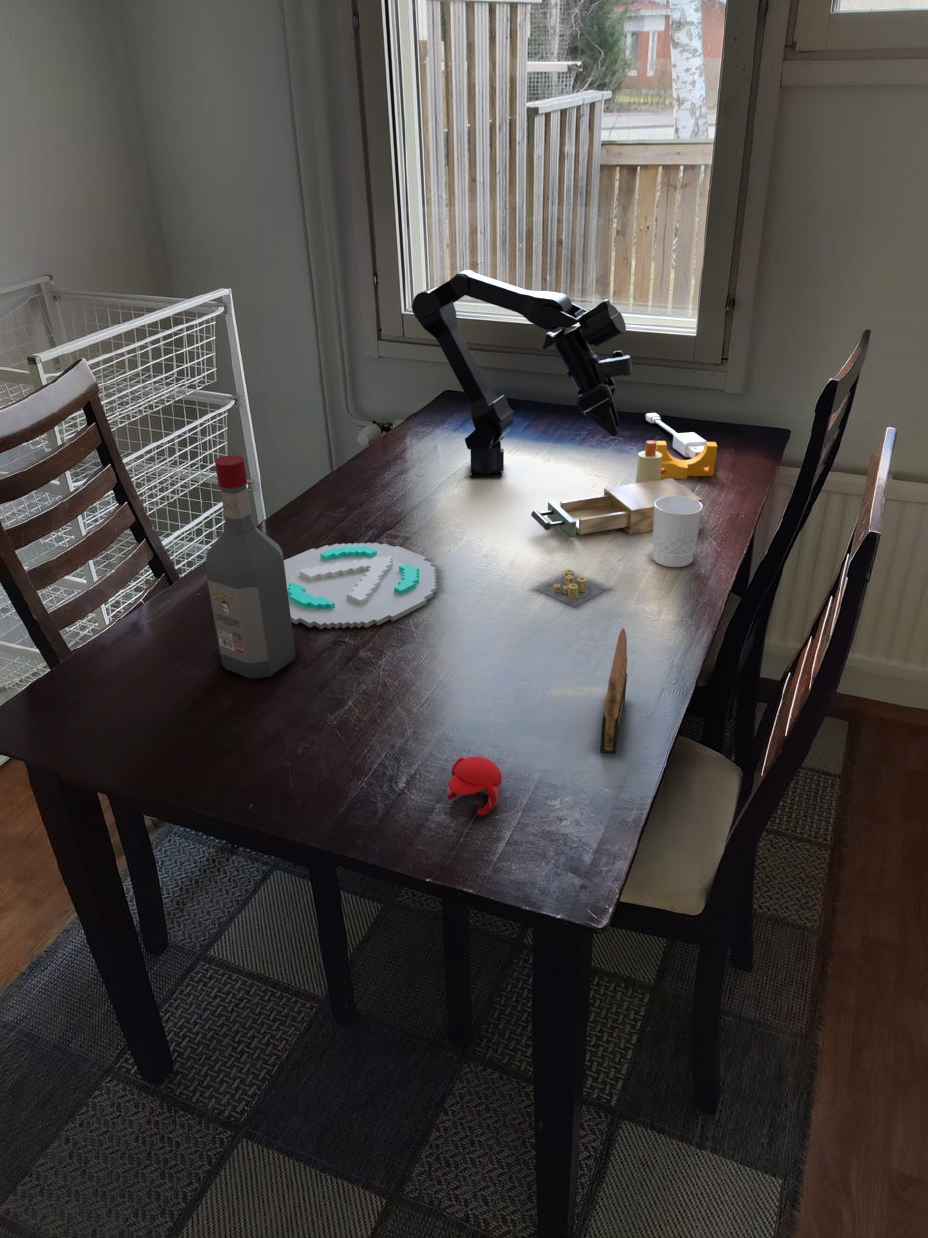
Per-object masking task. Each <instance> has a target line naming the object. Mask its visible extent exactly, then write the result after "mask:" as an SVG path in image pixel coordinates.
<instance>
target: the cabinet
mask: <svg viewBox="0 0 928 1238" xmlns="http://www.w3.org/2000/svg"><path fill="white" fill-rule="evenodd" d="M607 494H609V495H610V496H611V497H612V498H614V499H615V500H616V501H617V502H619V503H620V504H621V505H622V506H624V507H625V508H626V509H627V510H628V511H630V523H629V527H623V528H622V529H623V530H624V531H626V532H627V533H628V534H629V535H633V534H640V533H645V532H653V518H654V502H655V501H656V500H657V499H659V498H661V497H665V496H685V497H690V498H693V499H695V500H697V501H699V502H700V503H701V504H702V503H703V498H701V497H699V496H698V495H697V494H695V493H693V492H692V491H691V490H689V489H688V488H686V487H685V486H683V485H682V484H681V483H679V482H678V481H676V480H675V479H674V478H660V480H655V481H648V482H641V483H636V482H635V483H629V484H622V485H616V486H615V485H614V486H607V487H604V488H603V495H607Z"/></svg>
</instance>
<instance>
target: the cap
mask: <svg viewBox="0 0 928 1238" xmlns="http://www.w3.org/2000/svg"><path fill="white" fill-rule="evenodd" d="M451 776H452V777H451V778H450V780H449V782H448V789H449V790H450V792H448V793H447V799H448V800H449V801H451V800H453V799H454V798H455V797H457V796H468V795H473V794H477V793H479V792H481V791H483V790H485V792H486V793H487V795H488V800H487V802H486V804H485V805H484V806H483V807H481V808H478V809H477V815H478V816H479V817H483V816H484V817H485V816H486V815H487V814H489V813H491V812H492V810H493V809H494V808H495V807H496V805H497V803H498V801H499V795H500V791H501V784H502V780H503V776H502V772H501V769H500V768H499V766H498V765H497V764H496V763H495V762H494V761H492V760H491V759H488V758H486V757H483V756H469V757H466V758H465V757H462V756H461V757H459V758H458V759H457V760H456V761H455V762H454V764H453V765H452V768H451Z"/></svg>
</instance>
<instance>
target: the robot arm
mask: <svg viewBox="0 0 928 1238" xmlns="http://www.w3.org/2000/svg"><path fill="white" fill-rule="evenodd" d="M465 296H466V297H468V298H473V299H474V300H478V301H481V302H485V303H488V304H490V305H492V306H496V307H499V308H502V309H505V310H508V311H512V312H515V313H517V314H519V315H520V316H522V317H523V318H525V319H526V320H527V321H528V322H529V323H531V324H532V325H535V326H536V327H537V328H540V329H542V330H544V331H547V333H545V335H544V341H543V344H542V349H543V350H547V349H548V348H550V347H552V346H554V349H555V350H556V352H557V354H558V355H559V358H560V359H561V362H562V363H563V365H564V367H565V369H566V374H567V376H568V378H571V380H572V382H573V384H574V386H575V387H576V390H577V391H576V393H577V395H578V398H577V401H576V405H577V407H578V410H579V412H580V413H583V415H584V416H586V417H587V418H589V419H590V420H591V421H593V422H594V423H595V424H596V425H598V426H599V427H600V428H601V429H603V430H604V431H605V432H606V433H608V434H609V435H610V436H611V437H613V438H614V437H616V436H618V435H619V431H618V427H620V424H621V423H620V420H619V416H618V414H617V409H616V406H615V402H614V394H615V392H616V385H615V384H616V381H615V380H614V378H615V377H621V376H624V377H628V376H631V375H633V367H632V358H631V355H629V354H626V355H625V354H624V352H623V351H622V350H617V351H616V350H615V351H613V353H612V356H611V358H609V357H608V358H606V359H600V357H599V355H598V354H595V353H594V352H593V350H592V348H591V346H594V347H595V348H600V347H602V346H603V345H605V344H607V343H608V342H611V341H613V340H614V339H615V338H618V337H620V336H621V335H623V334H625V333H626V331H627V326H626V322H625V319H624V317H623V314H622V313H621V312H620V311H619V310H618V309H617V307H616V306H614V305H613V304H612V303H611V302H610V301H611V300H610V299H608V298H606V299H604V300H603V301H601V302H600V303H598V304H597V305H596V306H595V307H593V308H592V309H590V310H588V309H585V308H583V307H581V306H579V305H577V304H575V303H573V302H571V301H572V300H571V298H570V297H569V296H568V295H567V294H564V293H561V292H555V291H548V290H528V289H525V288H522V287H519V286H516V285H513V284H509V283H506V282H503V281H501V280H497V279H495V278H492V277H488V276H486V275H482V274H479V273H476V272H475V271H473V270H470V269H466V270H463V271H461V272H458V273H456V274H455V275H454V276H453V277H452V278H450V279H449V280H447V281H446V282H444V283H443V284H441V285H439V286H433V287H430V288H428V289H426V290H423V291H420V292H419V293H417V294H416V295H415V296H414V298H413V299H412V304H411V311H412V314H413V315H414V317H415V319H416V320H417V322H419V324H420V325H421V326H422V328H423V329H424V330H425V331H426V332H428V333H429V334H430V335H431V336H432V337H433V338H435V340H436V341H437V343H438V345H439V347H440V348H441V350H442V352H443V354H444V356H445V358H446V360H447V362H448V365H449V366H450V368H451V369H452V371H453V373H454V376H455V377H456V379H457V380H458V383H459V385H460V387H461V389H462V391H463V392H464V395H465V397H466V399H467V401H468V402H469V404H470V414H471V420H472V424H473V427H474V430H473V431H472V432H471V433H470V434H469V435H467V436H466V437H465V438H464V443H465V446H466V449H468V450H470V468H469V469H470V470H469V477H470V478H501V477H502V472H504V469H505V468H504V467H505V465H504V464H505V463H504V462H505V461H504V459H505V455H504V454H505V453H504V452H505V451H504V448H502V440H504V438H505V436H506V434H507V433H509V432H510V431H511V429H512V428H513V424H514V416H513V414H514V410H513V409H512V408H511V407H510V406H509V403H508V400H507V398H506V396H505V395H504V394H502V395H501V396H499V397H498V396H497V395H496V394H494V393H493V392H492V391H491V390H490V387H489V385H488V383H487V382H486V380H485V378H484V376H483V374H482V372H481V370H480V368H479V366H478V364H477V362H476V360H475V358H474V356H473V355H472V353H471V351H470V349H469V346H468V345H467V343H466V341H465V339H464V337H463V335H462V333H461V331H460V329H459V327H458V320H457V319H458V318H457V310H456V306H455V305H454V303H456V302H458V301H460V299H462V298H463V297H465ZM577 324H579V325H578V326H576V327H574V326H575V325H577ZM571 327H574V328H573V329H572V328H571ZM559 328H562V329H559ZM557 329H559V330H558V331H557V332H551V331H555V330H557ZM610 386H611V387H610Z"/></svg>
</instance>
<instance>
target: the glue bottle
mask: <svg viewBox="0 0 928 1238" xmlns="http://www.w3.org/2000/svg"><path fill="white" fill-rule="evenodd" d="M656 441H657V440H652V439H651V440H646V441H645V446H644V447H645V449H644V450H642V451H639V452H638V453H637V462H636V474H635V483H641V482H648V481H655V480H661V478H660V473H661V462H662V454H661V453H660V452H657V451H656V443H657V442H656Z"/></svg>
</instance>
